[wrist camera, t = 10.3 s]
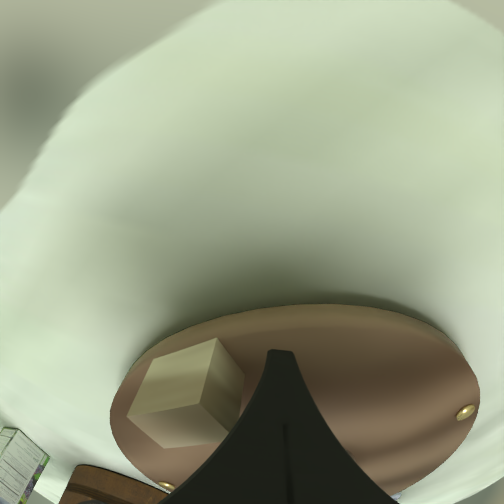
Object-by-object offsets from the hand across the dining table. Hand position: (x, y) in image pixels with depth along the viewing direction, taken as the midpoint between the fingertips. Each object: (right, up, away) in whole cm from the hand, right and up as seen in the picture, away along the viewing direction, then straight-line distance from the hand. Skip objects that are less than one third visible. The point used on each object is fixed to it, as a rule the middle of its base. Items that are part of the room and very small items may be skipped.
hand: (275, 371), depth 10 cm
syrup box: (-30, -20, +15) cm, 39 cm away
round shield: (+2, -8, +6) cm, 10 cm away
